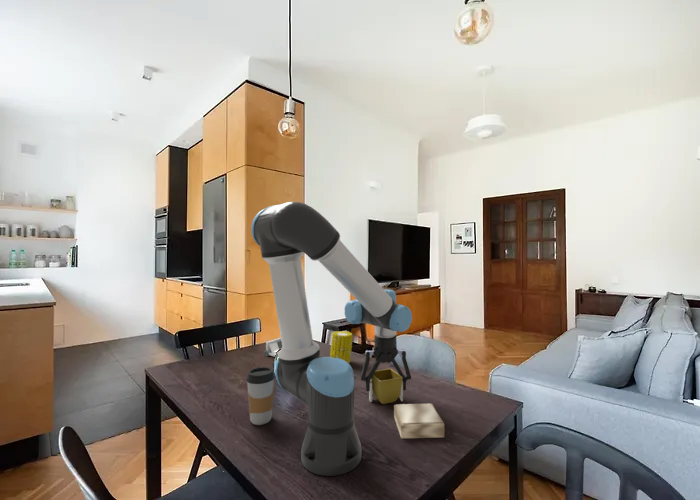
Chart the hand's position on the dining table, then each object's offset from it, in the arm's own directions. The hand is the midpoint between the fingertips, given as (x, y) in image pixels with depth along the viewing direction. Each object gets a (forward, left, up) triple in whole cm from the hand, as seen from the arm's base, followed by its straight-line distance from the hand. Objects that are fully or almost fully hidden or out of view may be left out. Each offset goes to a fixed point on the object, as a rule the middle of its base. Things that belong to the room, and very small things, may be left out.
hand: (386, 399), depth 115 cm
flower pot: (0, 0, 0) cm, 0 cm away
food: (-15, +38, 0) cm, 41 cm away
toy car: (-43, +50, -1) cm, 66 cm away
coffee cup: (-40, -11, 0) cm, 41 cm away
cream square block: (+7, -17, 0) cm, 18 cm away
